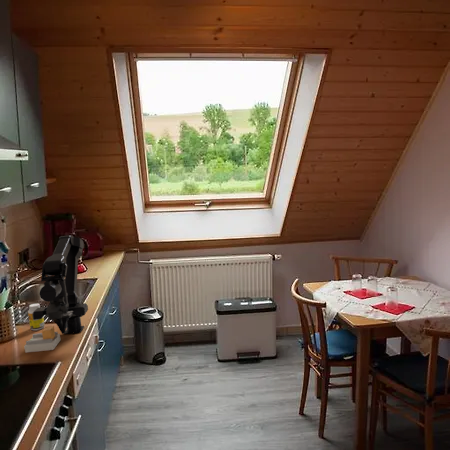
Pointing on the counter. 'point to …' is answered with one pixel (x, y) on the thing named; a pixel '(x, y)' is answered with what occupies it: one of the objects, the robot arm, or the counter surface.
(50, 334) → the orange block
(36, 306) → the supplement bottle
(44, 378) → the counter surface
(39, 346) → the grey stepped platform
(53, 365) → the counter surface
